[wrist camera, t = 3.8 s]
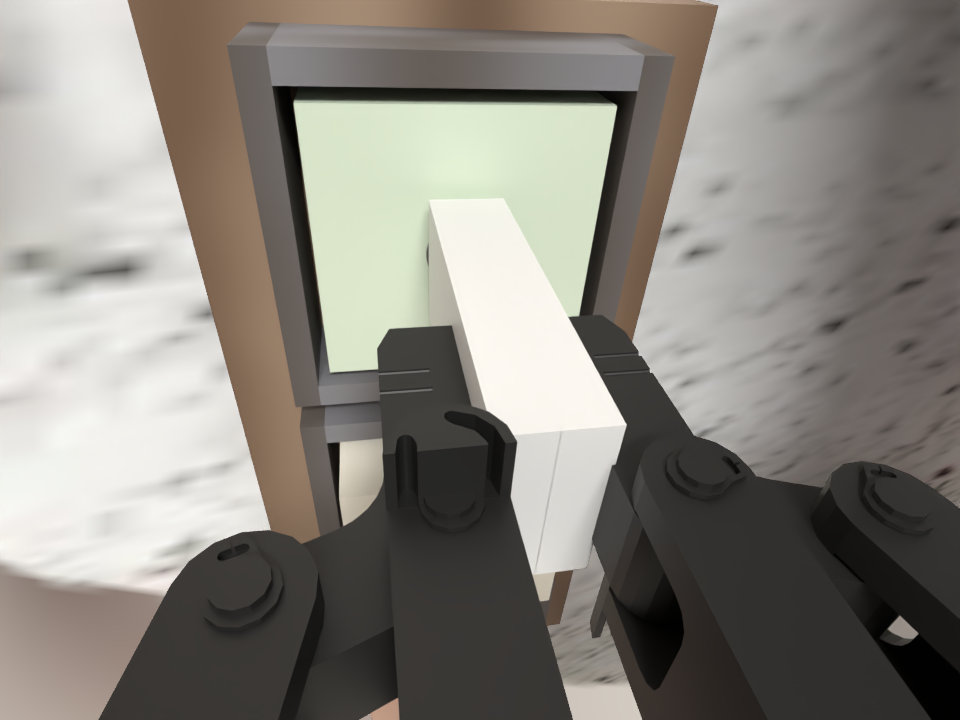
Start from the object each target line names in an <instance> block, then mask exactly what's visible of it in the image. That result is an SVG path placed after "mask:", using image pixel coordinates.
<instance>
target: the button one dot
mask: <svg viewBox="0 0 960 720" xmlns="http://www.w3.org/2000/svg"><path fill="white" fill-rule="evenodd" d="M294 110H295V117H296V125H297V132H298V139H299V147H300V154H301V162H302V169H303V176H304V184H305V191H306V199H307V206H308V213H309V221H310V228H311V236H312V243H313V250H314V258H315V265H316V273H317V280H318V287H319V295H320V302H321V310H322V317H323V324H324V332H325V339H326V347H327V354H328V361H329V369H330V372H344V371H359V370H374V369H378V358H377V348H378V346H379V345H380V343H381V341H382V340H383V338H384V336H385V335H386V333H387V331H388V330H389V329H394V328H412V327H430V326H431V325H430V320H429V200H435V199H490V198H504V200H505V202H506V204H507V206H508V207H509V209H510V211H511V213H512V215H513V217H514V218H515V220H516V222H517V224H518V226H519V228H520V230H521V231H522V233H523V235H524V237H525V239H526V241H527V242H528V244H529V246H530V248H531V250H532V252H533V253H534V255H535V257H536V259H537V261H538V263H539V265H540V266H541V268H542V270H543V272H544V274H545V276H546V277H547V279H548V281H549V283H550V285H551V287H552V288H553V290H554V292H555V294H556V296H557V298H558V299H559V301H560V303H561V305H562V307H563V309H564V311H565V312H566V314H567V316H568V317H571V316H579V312H580V307H581V302H582V296H583V291H584V285H585V280H586V274H587V269H588V263H589V258H590V252H591V247H592V241H593V236H594V231H595V225H596V220H597V214H598V209H599V203H600V198H601V192H602V187H603V181H604V176H605V170H606V165H607V160H608V154H609V149H610V143H611V138H612V132H613V127H614V121H615V116H616V110H617V106H616V105H615V104H614V103H612V102H611V101H609V100H608V99H606V98H605V97H604V96H602V95H601V94H599V93H598V92H596V91H595V90H530V89H461V88H392V87H323V86H299V87H298V90H297V93H296V97H295V100H294Z"/></svg>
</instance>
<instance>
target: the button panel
mask: <svg viewBox="0 0 960 720" xmlns="http://www.w3.org/2000/svg"><path fill="white" fill-rule="evenodd" d="M128 3H129V7H130V11H131V14H132V18H133V22H134V26H135V29H136V33H137V37H138V40H139V44H140V48H141V51H142V55H143V59H144V63H145V66H146V70H147V74H148V77H149V81H150V85H151V88H152V92H153V96H154V99H155V103H156V107H157V111H158V114H159V118H160V122H161V125H162V129H163V133H164V136H165V140H166V144H167V147H168V151H169V155H170V159H171V162H172V166H173V170H174V173H175V177H176V181H177V184H178V188H179V192H180V195H181V199H182V203H183V207H184V210H185V214H186V218H187V221H188V225H189V229H190V232H191V236H192V240H193V244H194V247H195V251H196V255H197V258H198V262H199V266H200V269H201V273H202V277H203V280H204V284H205V288H206V292H207V295H208V299H209V303H210V306H211V310H212V314H213V317H214V321H215V325H216V328H217V332H218V336H219V340H220V343H221V347H222V351H223V354H224V358H225V362H226V365H227V369H228V373H229V376H230V380H231V384H232V388H233V391H234V395H235V399H236V402H237V406H238V410H239V413H240V417H241V421H242V424H243V428H244V432H245V436H246V439H247V443H248V447H249V450H250V454H251V458H252V461H253V465H254V469H255V473H256V476H257V480H258V484H259V487H260V491H261V495H262V498H263V502H264V506H265V509H266V513H267V517H268V521H269V524H270V528H271V531H274V532H277V533H281V534H285V535H288V536H292V537H294V538H295V539H296V540H297V541H298V542H300V543H301V544H303V543H305V542H308V541H310V540H312V539H315V538H317V537H320V536H322V535H325V534H327V533H330V532H332V531H335V530H337V529H339V528H340V527H342V526H343V521H342V514H341V508H340V501H339V478H340V442H346V441H357V440H368V439H379V438H382V424H381V408H380V391H379V374H378V369H374V370H359V371H344V372H330V369H329V361H328V354H327V347H326V339H325V332H324V324H323V317H322V310H321V302H320V295H319V287H318V280H317V273H316V265H315V258H314V250H313V243H312V236H311V228H310V221H309V213H308V206H307V199H306V191H305V184H304V176H303V169H302V162H301V154H300V147H299V139H298V132H297V125H296V117H295V110H294V100H295V97H296V93H297V90H298V87H299V86H323V87H392V88H461V89H530V90H595V91H596V92H598V93H599V94H601V95H602V96H604V97H605V98H606V99H608V100H609V101H611V102H612V103H614V104H615V105H616V106H617V110H616V116H615V121H614V127H613V132H612V138H611V143H610V149H609V154H608V160H607V165H606V170H605V176H604V181H603V187H602V192H601V198H600V203H599V209H598V214H597V220H596V225H595V231H594V236H593V241H592V247H591V252H590V258H589V263H588V269H587V274H586V280H585V285H584V291H583V296H582V302H581V307H580V312H579V316H590V315H603V316H604V317H606V318H607V319H608V320H610V321H611V322H613V323H614V324H615V325H617V326H618V327H619V328H621V329H622V330H624V331H625V332H626V334H627V335H628V337H629V338H630V340H631V341H632V340H633V336H634V332H635V328H636V324H637V320H638V316H639V312H640V309H641V305H642V301H643V297H644V293H645V289H646V285H647V281H648V277H649V274H650V270H651V266H652V262H653V258H654V254H655V250H656V246H657V243H658V239H659V235H660V231H661V227H662V223H663V219H664V215H665V211H666V208H667V204H668V200H669V196H670V192H671V188H672V184H673V180H674V176H675V173H676V169H677V165H678V161H679V157H680V153H681V149H682V145H683V141H684V138H685V134H686V130H687V126H688V122H689V118H690V114H691V110H692V106H693V103H694V99H695V95H696V91H697V87H698V83H699V79H700V75H701V71H702V68H703V64H704V60H705V56H706V52H707V48H708V44H709V40H710V37H711V33H712V29H713V25H714V21H715V17H716V13H717V9H718V6H717V5H713V4H709V3H705V2H700V1H696V0H128ZM572 573H573V570H568V571H560V572H555V575H554V580H553V584H552V588H551V593H550V597H549V600H547V601H540V604H541V607H542V611H543V614H544V618H545V621H546V625H554V624H559V623H560V620H561V616H562V612H563V608H564V604H565V600H566V596H567V592H568V588H569V585H570V581H571V577H572Z"/></svg>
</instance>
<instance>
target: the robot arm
mask: <svg viewBox="0 0 960 720" xmlns="http://www.w3.org/2000/svg"><path fill="white" fill-rule="evenodd" d="M429 320H430V325H431V326H430V327H412V328H394V329H389V330H388V331H387V333H386V335H385V336H384V338H383V340H382V341H381V343H380V345H379V346H378V348H377V358H378V374H379V391H380V408H381V424H382V441H383V453H382V459H383V473H384V477H383V484H382V486H381V488H380V491H379V493H378V495H377V497H376V498H375V500H374V501H373V502H372V504H371V505H370V506H369V507H368V509H367V510H366V511H364V512H363V513H362V514H361V515H360V516H358V517H357V518H356V519H355V520H353V521H352V522H350V523H348V524H346V525H344V526H342V527H340V528H339V529H337V530H335V531H332V532H330V533H327V534H325V535H322V536H320V537H317V538H315V539H312V540H310V541H308V542H305V543H303V544H301V543H300V542H298V541H297V540H296V539H295V538H294V537H292V536H288V535H285V534H281V533H277V532H274V531H270V530H266V531H253V532H242V533H239V534H236V535H234V536H231V537H229V538H226V539H223V540H221V541H218V542H215V543H213V544H212V545H211V546H209V547H208V548H207V549H205V550H204V551H202V552H201V553H200V554H198V555H197V556H196V557H194V558H193V559H192V560H190V561H189V562H188V563H187V565H186V566H185V567H184V569H183V570H182V571H181V573H180V574H179V575H178V576H177V578H176V579H175V580H174V582H173V583H172V584H171V586H170V588H169V589H168V591H167V593H166V595H165V597H164V599H163V601H162V602H161V604H160V606H159V608H158V610H157V612H156V614H155V615H154V617H153V619H152V621H151V623H150V625H149V627H148V628H147V631H146V632H145V634H144V636H143V638H142V640H141V642H140V644H139V645H138V647H137V649H136V651H135V653H134V655H133V656H132V659H131V660H130V662H129V664H128V666H127V668H126V669H125V671H124V673H123V675H122V677H121V679H120V681H119V683H118V684H117V686H116V688H115V690H114V692H113V694H112V696H111V697H110V699H109V701H108V703H107V705H106V707H105V709H104V710H103V712H102V714H101V716H100V718H99V720H359V719H361V718H363V717H364V716H366V715H368V714H370V713H372V712H373V711H375V710H377V709H379V708H381V707H382V706H384V705H386V704H388V703H390V702H391V701H393V700H395V699H397V698H398V703H399V719H400V720H573V719H572V715H571V711H570V707H569V704H568V700H567V697H566V693H565V689H564V686H563V682H562V679H561V675H560V672H559V668H558V664H557V661H556V657H555V654H554V650H553V646H552V643H551V639H550V636H549V632H548V629H547V625H546V621H545V618H544V614H543V611H542V607H541V604H540V600H539V596H538V593H537V589H536V586H535V582H534V578H533V575H538V574H545V573H553V572H560V571H568V570H575V569H583V568H587V565H588V561H589V557H590V554H591V550H592V547H593V543H594V546H595V548H596V551H597V554H598V556H599V559H600V561H601V564H602V566H603V569H604V572H605V575H604V578H603V581H602V584H601V587H600V591H599V594H598V597H597V600H596V603H595V606H594V610H593V613H592V616H591V620H590V625H591V632H592V638H596V637H600V636H601V633H602V630H603V627H604V624H605V621H606V620H607V623H608V626H609V628H610V632H611V635H612V637H613V639H614V642H615V645H616V648H617V650H618V653H619V656H620V659H621V662H622V664H623V667H624V670H625V673H626V675H627V678H628V681H629V684H630V686H631V689H632V692H633V695H634V698H635V700H636V703H637V706H638V709H639V711H640V714H641V717H642V720H960V509H959V508H958V507H957V506H955V505H954V504H953V503H951V502H950V501H949V500H947V499H946V498H945V497H943V496H942V495H941V494H939V493H938V492H937V491H935V490H934V489H933V488H931V487H929V486H928V485H926V484H925V483H923V482H921V481H920V480H918V479H916V478H915V477H913V476H912V475H910V474H907V473H905V472H902V471H900V470H897V469H894V468H892V467H889V466H886V465H882V464H876V463H869V462H863V461H861V462H854V463H847V464H843V465H842V466H840V467H839V468H838V469H837V470H835V471H834V472H833V473H832V474H831V476H830V477H829V479H828V481H827V482H826V484H825V485H824V487H823V488H819V487H813V486H807V485H801V484H794V483H788V482H782V481H776V480H769V479H765V478H761V477H756V476H755V474H754V473H753V472H752V470H751V469H750V468H749V467H748V466H747V465H746V464H745V463H744V462H743V461H742V460H741V459H740V458H739V457H738V456H737V455H736V454H734V453H733V452H731V451H729V450H728V449H726V448H724V447H723V446H721V445H719V444H718V443H716V442H712V441H709V440H706V439H703V438H700V437H696V436H694V435H693V433H692V432H691V430H690V429H689V427H688V426H687V424H686V423H685V421H684V420H683V418H682V417H681V415H680V414H679V412H678V411H677V409H676V408H675V406H674V405H673V403H672V402H671V400H670V399H669V397H668V396H667V394H666V393H665V391H664V390H663V388H662V387H661V385H660V384H659V382H658V380H657V379H656V377H655V376H654V374H653V373H650V371H649V370H650V368H649V367H648V365H647V364H646V362H645V361H644V359H643V358H642V356H639V355H638V350H637V349H636V347H635V346H634V344H633V343H632V341H631V340H630V338H629V337H628V335H627V334H626V332H625V331H624V330H622V329H621V328H619V327H618V326H617V325H615V324H614V323H613V322H611V321H610V320H608V319H607V318H606V317H604V316H603V315H590V316H571V317H568V316H567V314H566V312H565V311H564V309H563V307H562V305H561V303H560V301H559V299H558V298H557V296H556V294H555V292H554V290H553V288H552V287H551V285H550V283H549V281H548V279H547V277H546V276H545V274H544V272H543V270H542V268H541V266H540V265H539V263H538V261H537V259H536V257H535V255H534V253H533V252H532V250H531V248H530V246H529V244H528V242H527V241H526V239H525V237H524V235H523V233H522V231H521V230H520V228H519V226H518V224H517V222H516V220H515V218H514V217H513V215H512V213H511V211H510V209H509V207H508V206H507V204H506V202H505V200H504V198H490V199H435V200H429ZM899 616H901V617H902V618H903V619H904V620H905V621H906V622H907V623H908V624H909V625H910V626H911V627H912V628H913V629H914V630H915V631H916V632H917V633H919V634H918V635H917V636H916V637H915V638H914V639H908V638H902V637H900V636H898V635H896V634H894V633H892V632H891V631H889V630H888V628H889V627H890V626H891V625H892V624H893V623H894V622H895V621H896V620H897V619H898V618H899Z"/></svg>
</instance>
